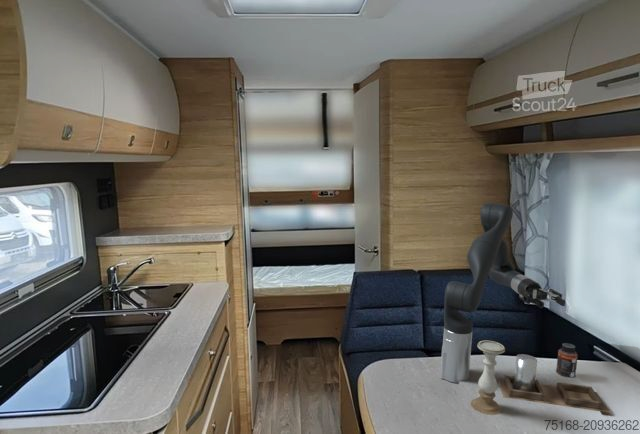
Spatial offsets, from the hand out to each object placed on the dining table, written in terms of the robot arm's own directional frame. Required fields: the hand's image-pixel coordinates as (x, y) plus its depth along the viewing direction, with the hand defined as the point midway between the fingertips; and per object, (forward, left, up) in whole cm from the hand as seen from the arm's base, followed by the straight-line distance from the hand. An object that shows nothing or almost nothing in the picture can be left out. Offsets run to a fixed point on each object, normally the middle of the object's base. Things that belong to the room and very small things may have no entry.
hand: (553, 304), depth 158 cm
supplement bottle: (+4, -6, -24) cm, 25 cm away
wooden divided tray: (-5, -23, -23) cm, 33 cm away
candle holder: (-26, -36, -24) cm, 50 cm away
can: (-13, -23, -22) cm, 35 cm away
